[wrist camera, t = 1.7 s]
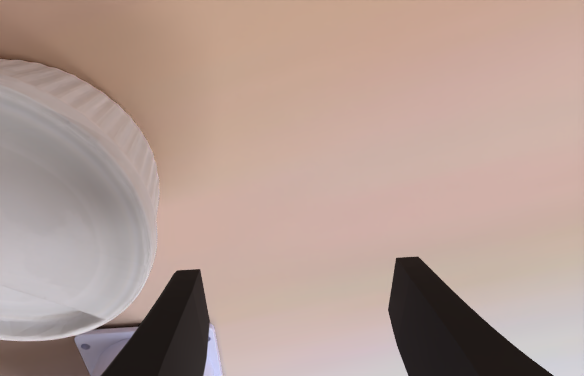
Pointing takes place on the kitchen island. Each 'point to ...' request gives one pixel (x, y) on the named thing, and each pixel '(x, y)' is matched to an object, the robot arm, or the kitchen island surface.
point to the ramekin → (70, 205)
